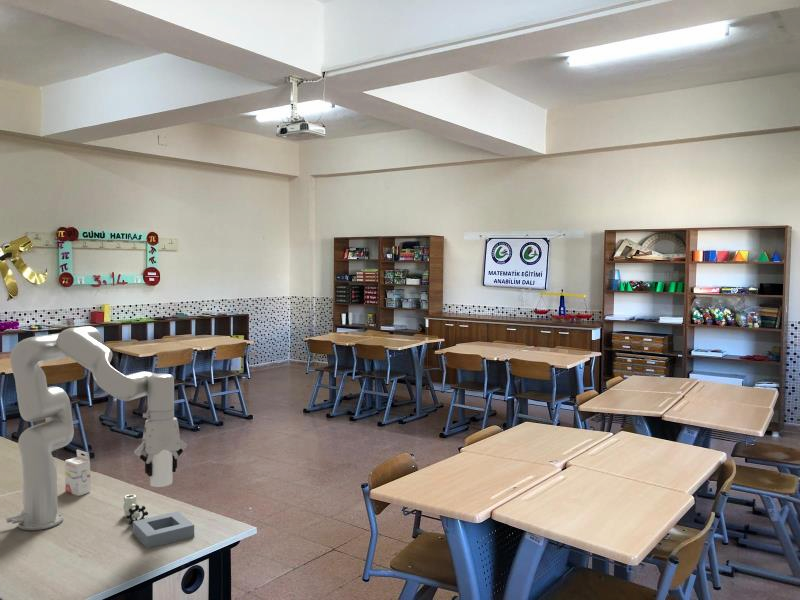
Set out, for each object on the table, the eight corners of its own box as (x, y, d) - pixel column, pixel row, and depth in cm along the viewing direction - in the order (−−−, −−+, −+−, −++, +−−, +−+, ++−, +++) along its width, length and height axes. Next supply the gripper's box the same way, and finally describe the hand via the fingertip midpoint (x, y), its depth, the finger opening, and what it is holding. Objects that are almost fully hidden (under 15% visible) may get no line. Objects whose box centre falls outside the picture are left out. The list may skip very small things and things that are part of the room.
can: (151, 489, 194) (150, 449, 194) (148, 482, 200) (148, 444, 199) (173, 486, 197) (173, 447, 197) (170, 480, 203) (170, 442, 202)
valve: (118, 516, 215) (126, 528, 205) (118, 496, 214) (126, 507, 204) (139, 511, 218) (148, 523, 209) (139, 492, 218) (148, 503, 208)
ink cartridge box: (64, 491, 237) (63, 451, 236) (77, 488, 241) (76, 448, 240) (78, 496, 232) (77, 455, 231) (91, 492, 236) (90, 452, 235)
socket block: (147, 548, 190) (147, 536, 190) (132, 532, 201) (132, 521, 201) (194, 536, 199) (194, 524, 199) (178, 521, 210) (177, 511, 210)
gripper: (134, 421, 189) (135, 481, 190) (193, 413, 200) (193, 471, 201) (127, 416, 195) (128, 475, 196) (185, 409, 206) (185, 465, 207)
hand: (161, 472), depth 198 cm, fingers closed on can, 6 cm apart
